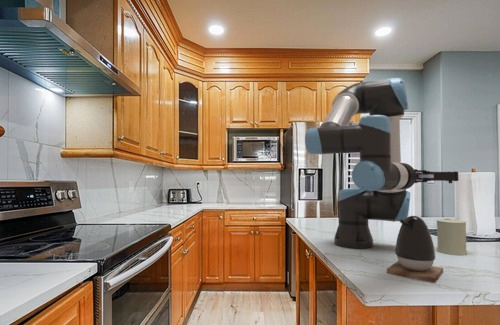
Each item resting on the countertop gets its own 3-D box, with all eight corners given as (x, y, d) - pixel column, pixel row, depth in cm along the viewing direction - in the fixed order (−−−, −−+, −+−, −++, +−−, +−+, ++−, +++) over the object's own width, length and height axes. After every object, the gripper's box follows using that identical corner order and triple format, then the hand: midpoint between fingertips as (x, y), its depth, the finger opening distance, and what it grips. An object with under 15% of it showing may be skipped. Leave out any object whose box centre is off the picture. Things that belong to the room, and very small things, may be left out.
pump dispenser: (387, 265, 90) (386, 214, 91) (412, 261, 94) (411, 213, 94) (417, 275, 80) (416, 219, 81) (444, 271, 84) (442, 217, 85)
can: (457, 249, 115) (456, 217, 116) (472, 255, 106) (471, 221, 107) (432, 248, 116) (431, 217, 117) (445, 254, 107) (444, 221, 108)
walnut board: (386, 272, 86) (386, 268, 87) (399, 263, 95) (399, 260, 96) (434, 282, 79) (434, 278, 79) (443, 272, 87) (443, 267, 88)
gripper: (357, 188, 94) (395, 186, 106) (445, 191, 73) (479, 189, 85) (357, 164, 94) (394, 165, 106) (444, 160, 73) (479, 163, 85)
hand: (432, 176), depth 95 cm, fingers open, 13 cm apart
